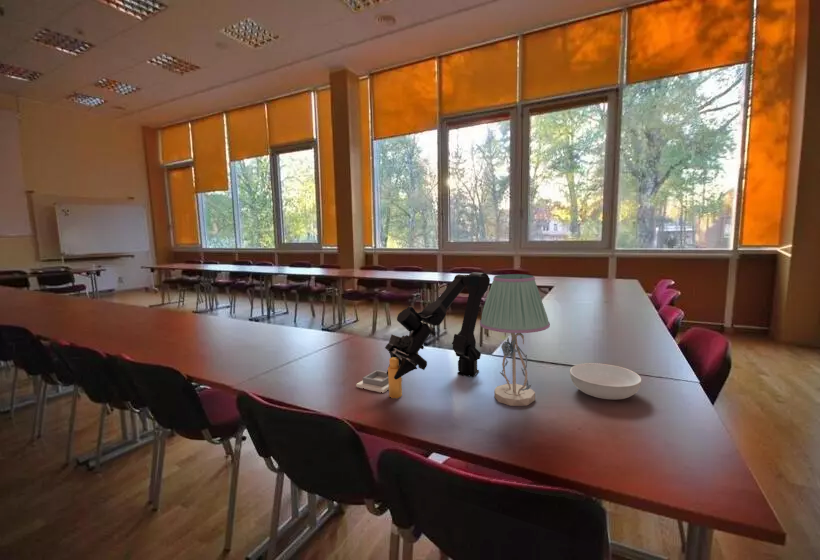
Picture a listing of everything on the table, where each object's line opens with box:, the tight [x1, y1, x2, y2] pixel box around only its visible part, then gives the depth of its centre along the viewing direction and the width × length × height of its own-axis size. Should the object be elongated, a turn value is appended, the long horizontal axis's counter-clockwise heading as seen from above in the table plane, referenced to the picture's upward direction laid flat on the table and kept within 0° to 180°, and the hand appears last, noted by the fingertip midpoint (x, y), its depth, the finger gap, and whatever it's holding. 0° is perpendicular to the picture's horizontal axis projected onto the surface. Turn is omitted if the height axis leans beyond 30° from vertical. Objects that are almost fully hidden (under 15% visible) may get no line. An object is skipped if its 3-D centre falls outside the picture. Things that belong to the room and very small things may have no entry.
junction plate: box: [356, 369, 403, 394], centre depth 143 cm, size 12×12×3 cm
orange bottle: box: [387, 357, 403, 399], centre depth 132 cm, size 4×4×13 cm
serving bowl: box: [569, 362, 643, 401], centre depth 128 cm, size 21×21×7 cm
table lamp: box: [479, 273, 551, 407], centre depth 125 cm, size 22×22×40 cm
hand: (391, 376), depth 131 cm, fingers closed on orange bottle, 4 cm apart
